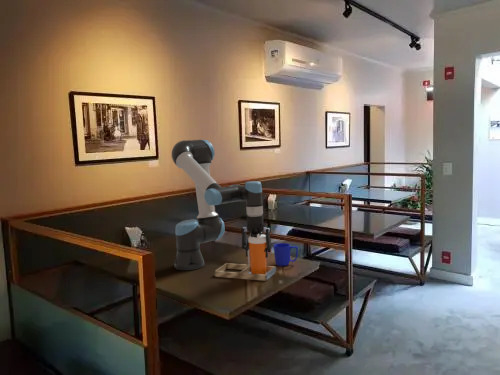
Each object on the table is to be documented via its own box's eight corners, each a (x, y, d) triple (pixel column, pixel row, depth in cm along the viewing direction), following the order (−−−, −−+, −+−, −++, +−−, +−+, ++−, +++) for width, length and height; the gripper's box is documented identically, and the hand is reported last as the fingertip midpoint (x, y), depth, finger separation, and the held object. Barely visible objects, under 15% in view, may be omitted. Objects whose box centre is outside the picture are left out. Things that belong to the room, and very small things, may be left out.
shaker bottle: (271, 272, 195) (270, 230, 193) (263, 278, 187) (262, 235, 185) (253, 270, 199) (252, 229, 196) (245, 276, 191) (244, 233, 188)
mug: (297, 267, 202) (296, 247, 201) (273, 267, 204) (272, 247, 203) (299, 262, 210) (298, 243, 209) (275, 262, 212) (274, 243, 211)
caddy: (214, 276, 194) (213, 271, 194) (226, 268, 207) (226, 263, 206) (266, 280, 184) (266, 275, 184) (276, 271, 197) (275, 266, 196)
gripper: (232, 216, 190) (234, 264, 193) (272, 217, 183) (274, 267, 185) (238, 213, 197) (241, 260, 200) (277, 214, 190) (279, 262, 192)
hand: (257, 263), depth 193 cm, fingers open, 6 cm apart
